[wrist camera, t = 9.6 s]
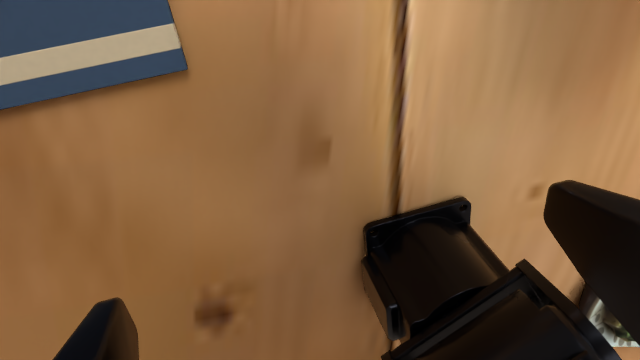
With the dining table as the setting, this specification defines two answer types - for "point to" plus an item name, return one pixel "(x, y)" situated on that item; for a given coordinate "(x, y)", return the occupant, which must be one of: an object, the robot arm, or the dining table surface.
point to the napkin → (82, 46)
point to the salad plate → (604, 320)
